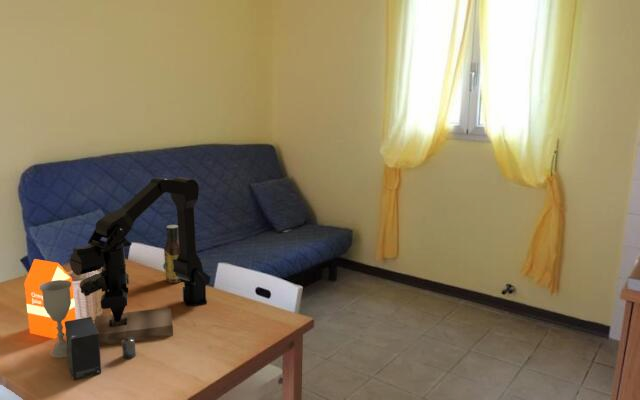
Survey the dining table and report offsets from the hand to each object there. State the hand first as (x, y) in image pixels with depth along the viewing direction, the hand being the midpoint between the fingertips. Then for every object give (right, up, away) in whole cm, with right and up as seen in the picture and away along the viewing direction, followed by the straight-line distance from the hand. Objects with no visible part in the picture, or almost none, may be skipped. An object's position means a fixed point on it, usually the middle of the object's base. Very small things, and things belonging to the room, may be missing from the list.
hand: (117, 318), depth 136 cm
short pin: (+7, -7, -11) cm, 15 cm away
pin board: (+4, -4, +2) cm, 6 cm away
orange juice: (-18, -4, +2) cm, 19 cm away
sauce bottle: (+4, +4, +39) cm, 39 cm away
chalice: (-10, -6, -10) cm, 15 cm away
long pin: (0, -2, 0) cm, 3 cm away
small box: (-1, -8, -16) cm, 18 cm away
